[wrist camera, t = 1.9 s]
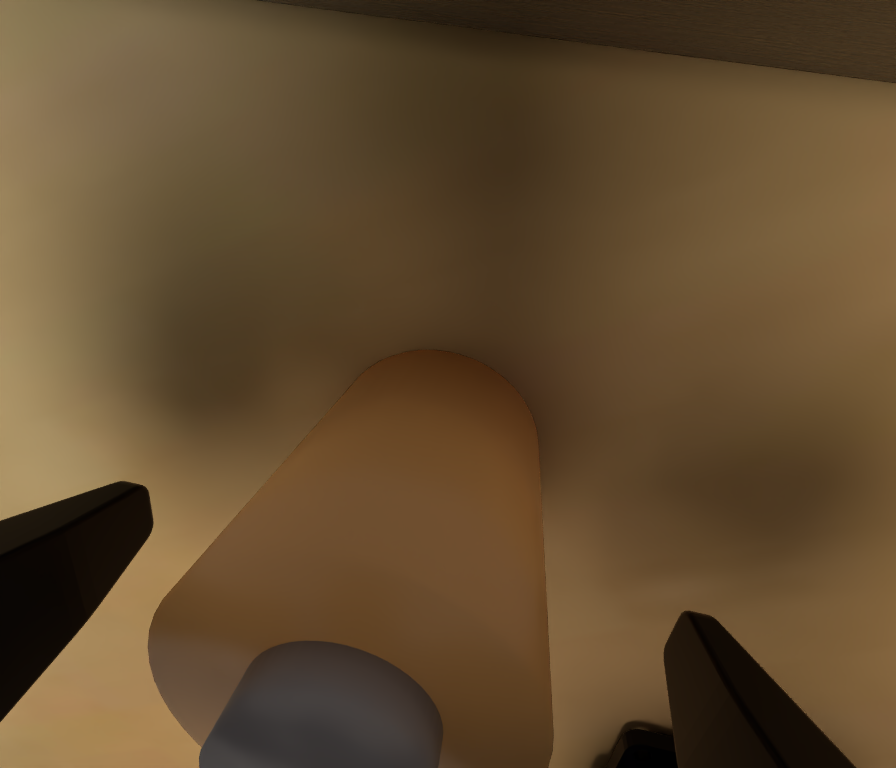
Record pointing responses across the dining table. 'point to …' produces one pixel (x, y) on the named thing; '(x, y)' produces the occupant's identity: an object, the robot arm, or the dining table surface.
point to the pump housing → (376, 589)
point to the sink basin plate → (682, 27)
